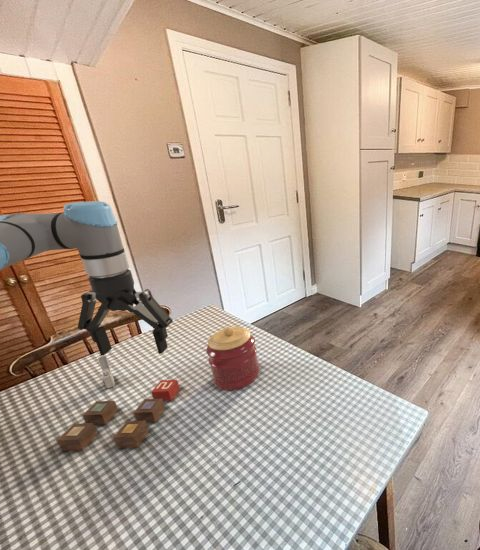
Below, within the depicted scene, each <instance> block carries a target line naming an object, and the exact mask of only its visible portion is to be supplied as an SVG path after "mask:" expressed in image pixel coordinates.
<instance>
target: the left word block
mask: <svg viewBox="0 0 480 550" xmlns="http://www.w3.org/2000/svg"><path fill="white" fill-rule="evenodd" d="M118 412H119V408H118V406H117V404H116V401H115V400H100V401H99V400H97V401H95V402H94V403H93V404H92V405H91V406H90V407H89V408H88V409H87V410H86V411H84V413H83V414H82V415H81V416H82V418H83V420H84V423H93V424H94V426H106V425H107V424H108V423H109V422H110V421H111V420H112V418H114V416H115V415H116V414H117V413H118Z"/></svg>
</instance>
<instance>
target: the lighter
mask: <svg viewBox="0 0 480 550" xmlns="http://www.w3.org/2000/svg"><path fill="white" fill-rule="evenodd" d="M97 360H98V362H99V365H100V369H101V372H102V379H103V382H104V384H105V387H106V389H110V388H114V387H115V385H116V384H115V378H114V375H113V373H112V371H111V366H110V362H109V360H108V357H107V355H106V354H105V355H101V356H98V359H97Z"/></svg>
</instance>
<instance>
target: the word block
mask: <svg viewBox="0 0 480 550" xmlns="http://www.w3.org/2000/svg"><path fill="white" fill-rule="evenodd" d="M98 434H99V433H98V431H97V428H96V425H94V424H93V423H86V422H84V423H73V424H72V425H71V426H70V427H69V428H68V429H67V430H66V431H65V432H63V434H62V435H60V436H59V438H57V439H56V442H57V444H58V445H59V447H60V449H61V451H62V452H76V451H77V452H78V451H84V450H85V449H86V448H87V447H88V446H89V445H90V443H92V441H93V440H94V439H95V438H96V436H98Z"/></svg>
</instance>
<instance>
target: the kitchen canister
mask: <svg viewBox="0 0 480 550" xmlns="http://www.w3.org/2000/svg"><path fill="white" fill-rule="evenodd" d="M255 343H256V340H255V337H254V335H253V334H251V331H250V329H248V328H246V327H241V326H229V325H228V326H226V327H224V328H221V329H219V330H218V331H216V332H215V333H214V334H212V335H211V336H210V337H209V338H208V341H207V347H206V350H205V351H206V355H207V356H208V364H209V366H210V370H211V374H212V381H213V383H214V385H215V387H216V388H218V389H219V390H222V391H226V392H227V391H228V392H229V391H231V392H232V391H237V390H241V389H244V388H246V387H247V386H250V384H252V383H253V382H255V381H256V379H258V377H259V374H260V364H259V361H258V354H257V347H256V345H255Z"/></svg>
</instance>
